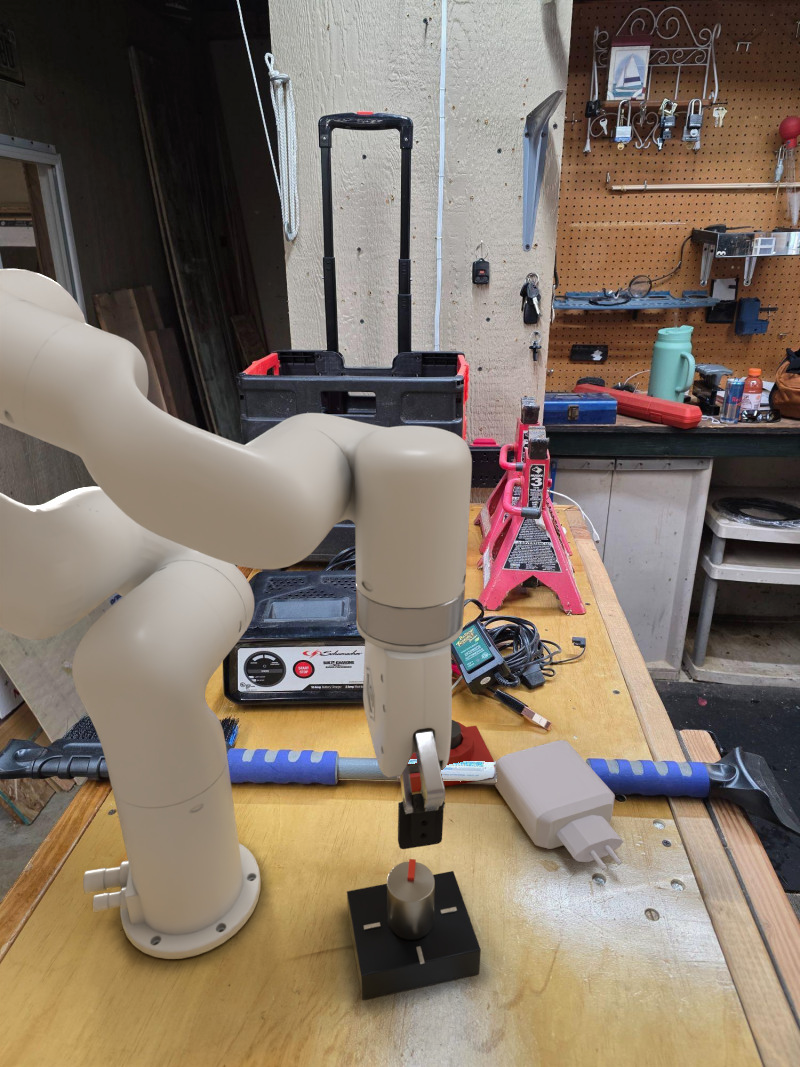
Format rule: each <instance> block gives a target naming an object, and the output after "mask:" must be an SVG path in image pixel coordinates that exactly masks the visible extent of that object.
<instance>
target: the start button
mask: <svg viewBox="0 0 800 1067" xmlns="http://www.w3.org/2000/svg"><path fill="white" fill-rule="evenodd" d="M457 722H458V721H457V720H454V719H452V725H451V745H450V750H451V749H455V748H457V747H458V746H459V744H460V742H461V727H460V725H459V724H458V723H457Z"/></svg>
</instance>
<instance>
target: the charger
mask: <svg viewBox="0 0 800 1067" xmlns="http://www.w3.org/2000/svg"><path fill="white" fill-rule="evenodd" d="M496 772H497V773H496ZM495 774H497V782H496V784H495V783H494V786H495V788H496V789H497V791H498V793H499V794H500V795H501V797H502V798H503V800H504V801H505V803H506V804H507V806H508V807H509V808H510V810H511V811H512V813H513V814H514V816H515V817H516V819H517V820H518V821H519V823H520V825H521V826H522V828H523V829H524V831H525V832H526V834H527V835H528V837H529V838H530V839H531V841H532V843H533V844H534V845H535V846H537V847H540V848H546V849H548V850H549V849H550V850H552V849H556V848H559V847H562V846H564V847H565V849H566V850H567V852H569V854H570V855H571V857H572V858H573V859H574V860H575V861H577V862H581V863H590V862H593V861H595V863H596V864H597V865H598V866H599V868H600V869H601V870H602V871H606V870H607V868H608V867H607V866H606V864H605V863H604V861H603V860H602V858H605V857H608V856H610V857H611V859H612V860H613V861H614V862H615V864H617V866H621V865H622V863H623V861H622V860H621V859H620V858H619V856H618V855H617V854H616V852H615V851H616V850H618V849H619V848H620V847H621V846H622V845H623V843H624V840H623V838H622V837H621V836H620V835H619V834H618V833H617V832H616V830H615V829H614V828H613V827H612V826H611V823H612V818H613V813H614V812H613V811H614V806H615V798H616V796H615V793H614V792H613V791H612V790H611V789H610V787H608V785H607V784H606V783H605V782H604V781H603V780H602V778H600V776H599V775H598V774H597V773H596V772H595V771H594V769H592V767H591V766H590V765H589V764H588V763H587V762H586V761H585V759H584V758H583V757H582V756H581V754H579V752H578V751H576V749H575V748H574V747H573V746H572V745H571V743H570V742H568V741H567V740H564V739H560V740H554V741H551V742H547V743H544V744H539V745H536V746H532V747H528V748H525V749H522V750H517V751H514V752H510V753H507V754H504V755H503V756H501V757H500V758H498V759H497V761H496V762H495Z"/></svg>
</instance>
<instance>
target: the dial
mask: <svg viewBox="0 0 800 1067" xmlns="http://www.w3.org/2000/svg"><path fill="white" fill-rule="evenodd" d="M433 875H434V874H433V872H432V870H431V869H430V868H429V867H427V866H426V865H425V864H423V863H421V862H417V860H416V859H415V858H409V859H408V861H404V862H400V863H398V864H397V865H394V867H393V868H392V869H391V870H390V871H389V873H388V875H387V878H386V884H387V911H388V924H389V927H390V929H391V930H392V931H393V933H394V934H396V935H397V936H398V937H400V938H403V939H406V940H416V939H419V938H422V937H424V936H425V935H426V934H428V933H429V931H430V930H431V928H432V926H433V923H434V892H435V880H434V876H433Z"/></svg>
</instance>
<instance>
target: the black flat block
mask: <svg viewBox="0 0 800 1067" xmlns="http://www.w3.org/2000/svg"><path fill="white" fill-rule="evenodd" d="M433 876H434V880H435V892H434V923H433V926H432V928H431V930H430V931H429V933H428V934H426V935H425V936H424V937H422V938H419V939H416V940H406V939H403V938H400V937H398V936H397V935H396V934H394V933H393V931H392V930H391V929H390V927H389V924H388V911H387V883H382V884H377V885H373V886H368V887H362V888H358V889H352V890H347V891H346V902H347V903H346V904H347V917H348V923H349V928H350V929H349V930H350V935H351V941H352V947H353V952H354V960H355V964H356V969H357V970H356V972H357V976H358V983H359V990H360V996H361V1000H362V1001H366V1000H370V999H374V998H378V997H382V996H383V997H384V996H387V995H392V994H396V993H397V994H398V993H400V992H405V991H409V990H415V989H419V988H423V987H427V986H432V985H436V984H440V983H441V984H442V983H445V982H449V981H455V980H459V979H463V978H468V977H472V976H476V975H480V966H481V952H482V951H481V950H482V949H481V947H480V944H479V941H478V939H477V935H476V933H475V929H474V926H473V924H472V920H471V918H470V915H469V912H468V909H467V906H466V904H465V900H464V897H463V894H462V892H461V888H460V886H459V883H458V881H457V878H456V875H455V872H454V870H451V871H445V872H439V873H435V874H433Z"/></svg>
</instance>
